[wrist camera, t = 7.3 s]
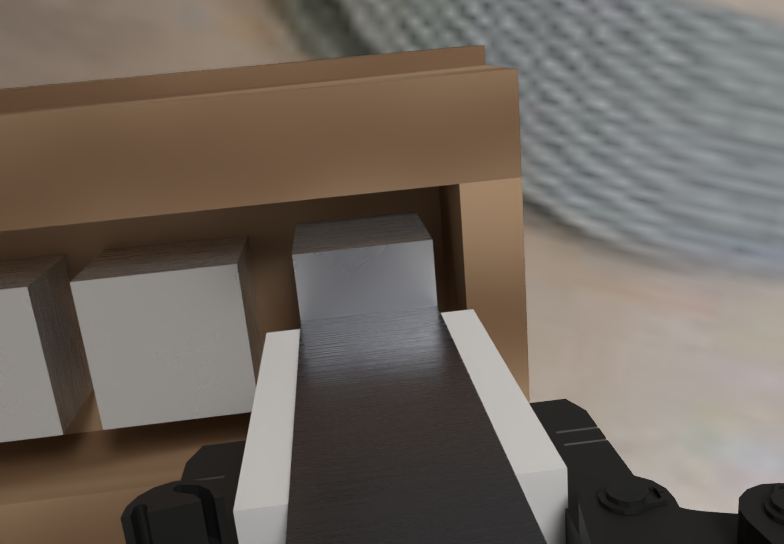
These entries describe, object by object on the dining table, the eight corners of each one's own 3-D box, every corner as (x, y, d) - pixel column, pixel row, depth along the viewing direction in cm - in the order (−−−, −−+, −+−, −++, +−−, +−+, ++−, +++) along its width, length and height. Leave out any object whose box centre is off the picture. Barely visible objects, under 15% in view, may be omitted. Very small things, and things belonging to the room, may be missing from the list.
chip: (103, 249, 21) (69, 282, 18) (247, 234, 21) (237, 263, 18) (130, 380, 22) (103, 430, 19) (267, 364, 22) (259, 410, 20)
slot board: (-175, 105, 21) (-323, 123, 16) (473, 45, 22) (516, 45, 17) (-51, 511, 24) (-140, 625, 20) (493, 442, 26) (534, 533, 21)
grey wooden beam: (296, 223, 19) (239, 654, 5) (415, 210, 19) (645, 598, 6) (323, 437, 20) (331, 1165, 7) (432, 423, 21) (638, 1107, 7)
